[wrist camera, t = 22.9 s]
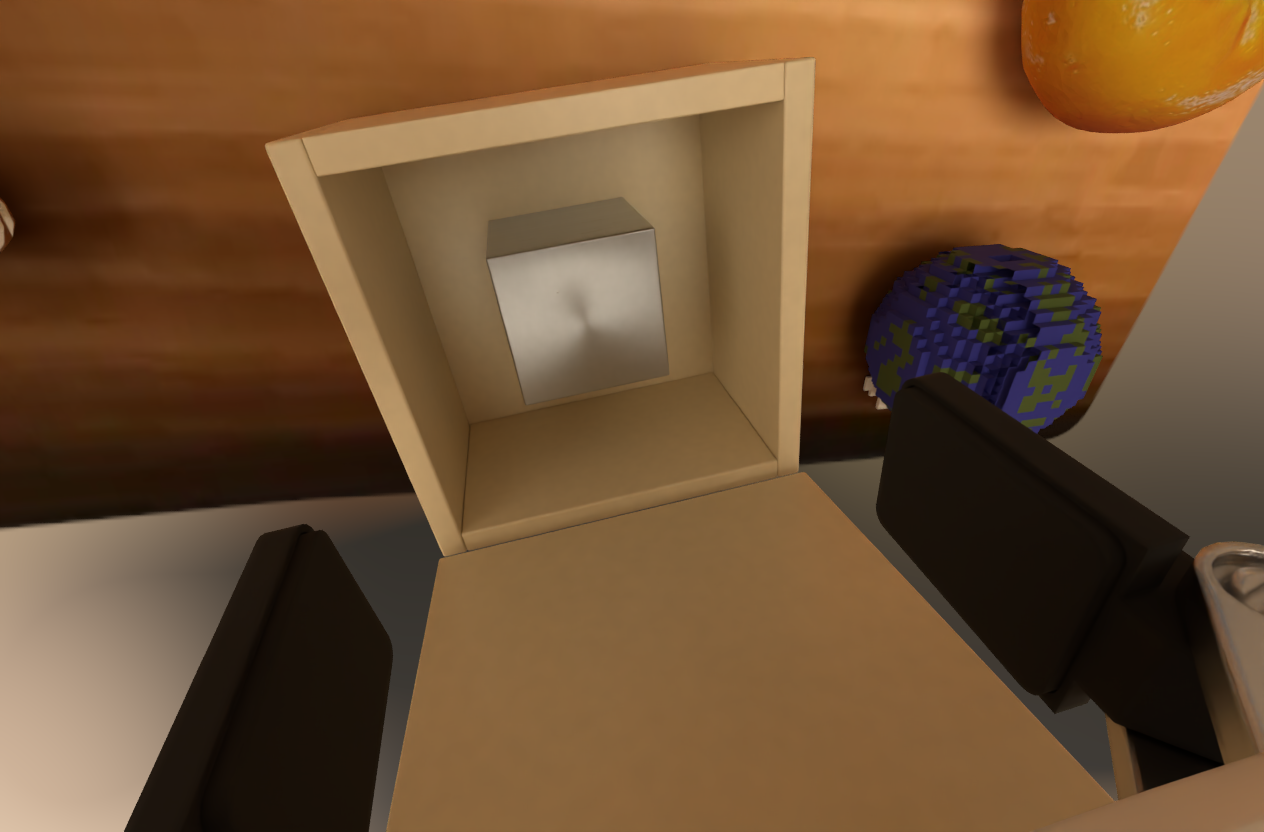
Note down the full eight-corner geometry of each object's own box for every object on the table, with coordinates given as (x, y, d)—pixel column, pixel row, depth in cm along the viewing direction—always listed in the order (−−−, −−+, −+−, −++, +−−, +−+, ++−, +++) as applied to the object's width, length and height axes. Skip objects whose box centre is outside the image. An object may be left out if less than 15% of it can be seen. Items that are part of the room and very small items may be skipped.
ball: (961, 383, 30) (1088, 467, 23) (828, 399, 29) (924, 493, 22) (1012, 227, 26) (1183, 279, 19) (859, 239, 24) (988, 297, 18)
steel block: (487, 220, 20) (485, 258, 16) (623, 196, 21) (655, 226, 17) (520, 345, 23) (525, 406, 19) (639, 321, 23) (670, 375, 19)
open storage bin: (344, 119, 18) (261, 143, 12) (711, 62, 20) (817, 56, 13) (457, 432, 25) (443, 558, 19) (724, 374, 27) (799, 472, 20)
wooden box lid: (286, 1328, 6) (426, 1395, 8) (1270, 964, 7) (1172, 1103, 10) (438, 558, 18) (480, 666, 20) (804, 470, 19) (807, 581, 22)
